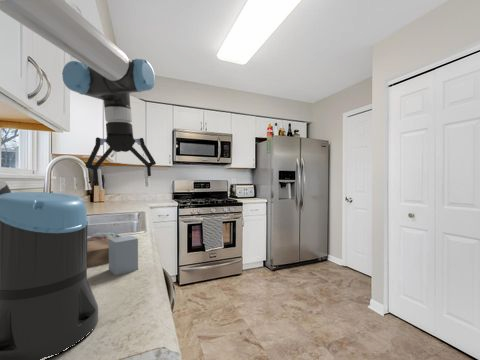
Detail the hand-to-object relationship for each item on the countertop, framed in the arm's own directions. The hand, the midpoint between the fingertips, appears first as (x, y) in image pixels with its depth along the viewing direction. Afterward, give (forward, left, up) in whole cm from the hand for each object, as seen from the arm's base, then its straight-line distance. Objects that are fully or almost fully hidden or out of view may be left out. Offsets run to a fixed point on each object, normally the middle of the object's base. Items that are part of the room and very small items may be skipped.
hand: (124, 188), depth 75 cm
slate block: (-4, -10, -24) cm, 26 cm away
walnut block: (-4, +7, -24) cm, 25 cm away
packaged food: (0, +26, -24) cm, 35 cm away
